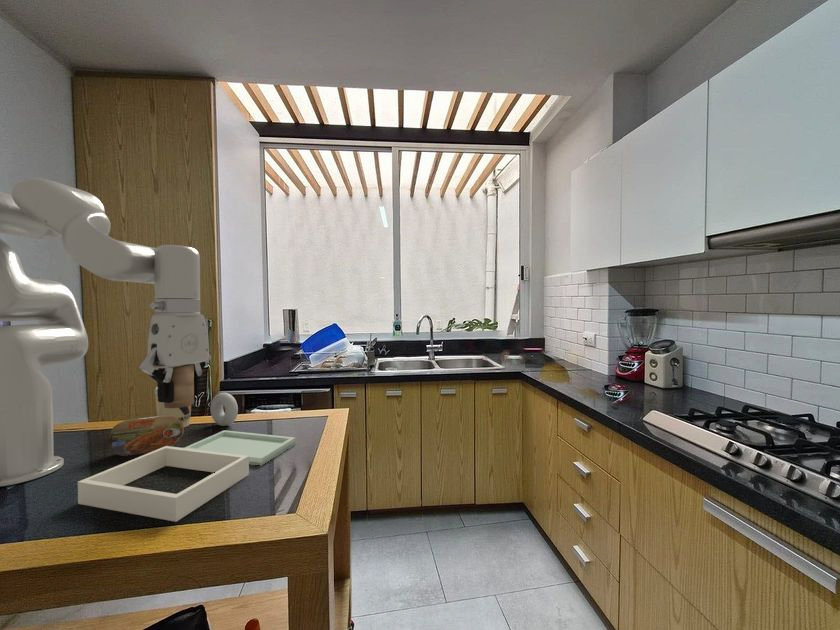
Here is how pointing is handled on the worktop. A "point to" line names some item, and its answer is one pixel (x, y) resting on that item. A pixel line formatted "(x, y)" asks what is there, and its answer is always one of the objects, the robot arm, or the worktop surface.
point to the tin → (144, 435)
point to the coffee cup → (173, 411)
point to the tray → (246, 445)
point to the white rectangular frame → (156, 504)
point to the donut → (230, 409)
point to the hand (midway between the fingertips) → (179, 397)
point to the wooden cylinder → (182, 386)
